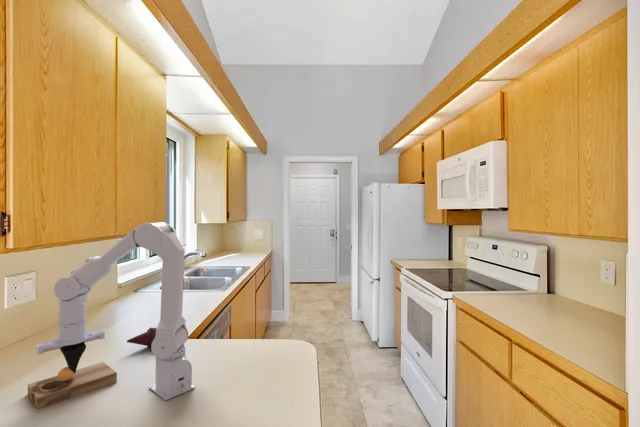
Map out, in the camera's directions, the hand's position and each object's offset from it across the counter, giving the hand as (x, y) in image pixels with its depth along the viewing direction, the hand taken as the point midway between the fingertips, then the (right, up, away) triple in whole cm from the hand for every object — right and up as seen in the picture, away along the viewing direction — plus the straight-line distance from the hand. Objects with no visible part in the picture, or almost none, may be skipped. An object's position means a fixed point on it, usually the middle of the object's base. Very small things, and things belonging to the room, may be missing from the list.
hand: (71, 372), depth 90 cm
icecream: (+8, -4, +27) cm, 28 cm away
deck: (+1, -4, 0) cm, 4 cm away
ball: (-1, 0, -1) cm, 1 cm away
